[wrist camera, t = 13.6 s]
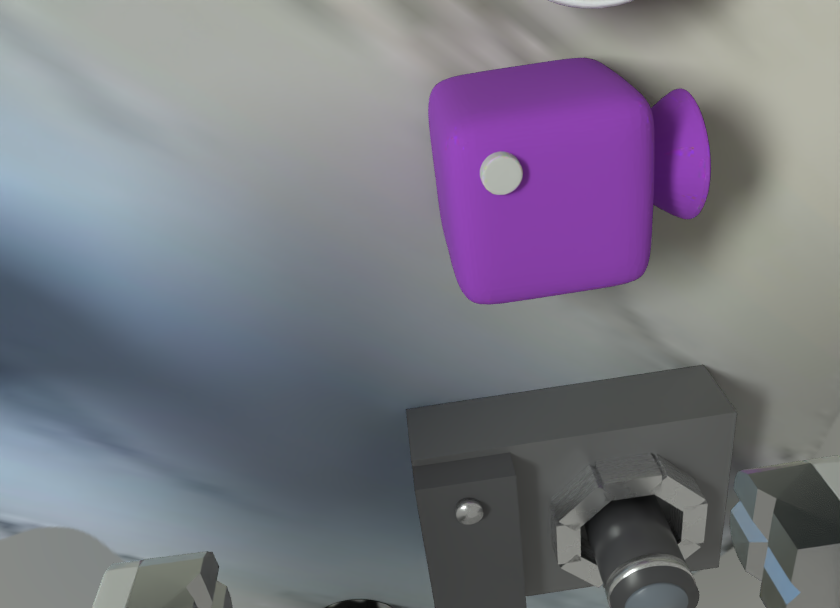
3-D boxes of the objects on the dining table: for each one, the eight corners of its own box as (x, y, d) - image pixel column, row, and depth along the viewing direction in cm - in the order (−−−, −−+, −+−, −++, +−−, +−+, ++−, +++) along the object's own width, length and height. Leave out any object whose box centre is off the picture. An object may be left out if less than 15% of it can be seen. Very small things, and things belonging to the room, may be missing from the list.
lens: (580, 542, 50) (610, 638, 44) (582, 487, 48) (615, 581, 41) (655, 534, 50) (696, 629, 44) (662, 479, 48) (706, 572, 41)
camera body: (430, 553, 57) (440, 642, 50) (405, 409, 50) (414, 491, 43) (690, 514, 57) (734, 598, 50) (703, 364, 50) (757, 440, 43)
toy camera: (680, 186, 43) (763, 265, 35) (455, 261, 44) (481, 356, 36) (650, -4, 38) (739, 35, 29) (395, 88, 39) (408, 151, 30)
